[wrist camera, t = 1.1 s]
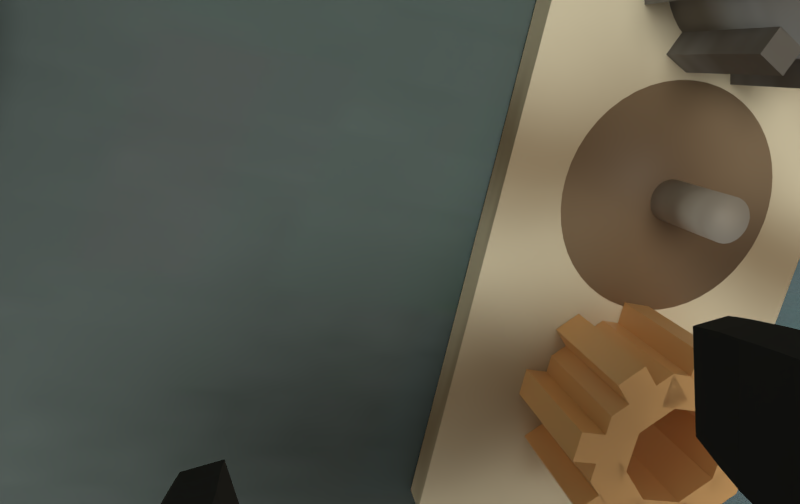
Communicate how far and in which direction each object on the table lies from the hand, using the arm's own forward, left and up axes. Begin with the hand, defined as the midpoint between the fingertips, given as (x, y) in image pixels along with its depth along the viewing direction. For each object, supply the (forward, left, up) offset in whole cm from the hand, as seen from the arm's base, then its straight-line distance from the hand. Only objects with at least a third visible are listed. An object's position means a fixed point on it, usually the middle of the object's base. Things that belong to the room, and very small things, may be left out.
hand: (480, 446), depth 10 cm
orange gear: (-7, -4, -8) cm, 12 cm away
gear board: (-3, -8, -9) cm, 13 cm away
